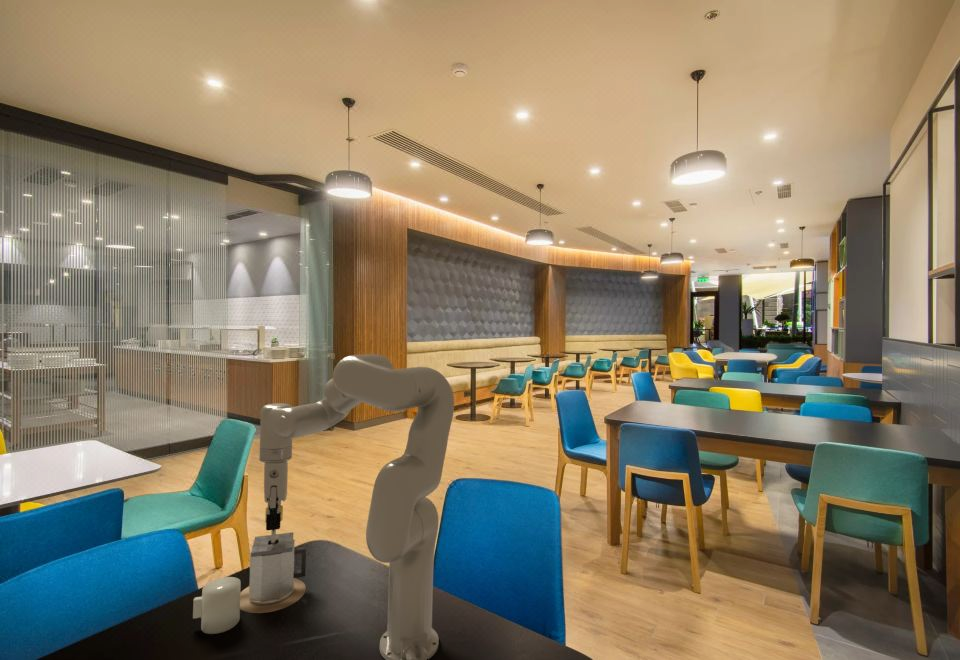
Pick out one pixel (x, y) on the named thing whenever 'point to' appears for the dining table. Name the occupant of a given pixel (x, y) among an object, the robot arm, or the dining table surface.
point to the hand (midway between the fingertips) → (273, 524)
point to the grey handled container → (273, 569)
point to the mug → (218, 605)
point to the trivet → (297, 594)
